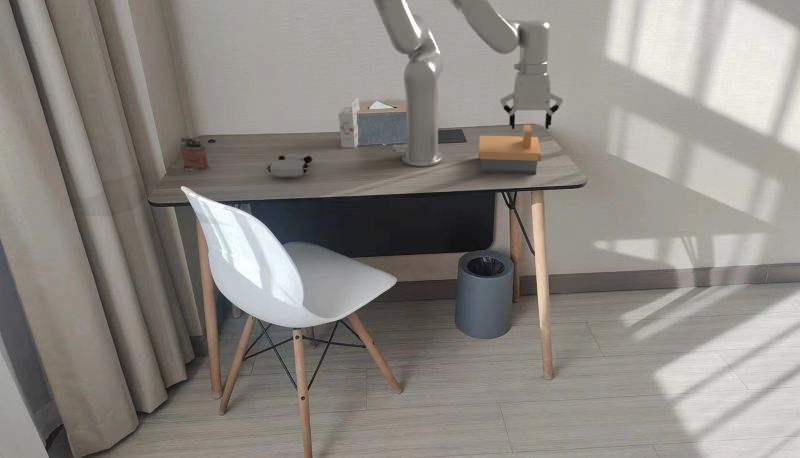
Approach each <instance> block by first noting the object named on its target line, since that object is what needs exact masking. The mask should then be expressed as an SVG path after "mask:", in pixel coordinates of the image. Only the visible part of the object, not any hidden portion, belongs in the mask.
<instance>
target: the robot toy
mask: <svg viewBox="0 0 800 458" xmlns="http://www.w3.org/2000/svg"><path fill="white" fill-rule="evenodd" d="M277 159H278V160H274V161H273V162H272V163H270V164H269V166H267V167H264V168H263V170H268V172H269V173H270V174H271V175H272V176H274V177H277V178H280V177H281V178H291V177H292V178H296V177H297V178H300V177H301V176H303V175H304V174H305V173H307V171H308V170H310V167H309V165H308V164H309V163H312V161H313V160H315V156H311V155H306V156H305V157H303V156H302V154H300V153H288V154H286V156H284V155H279V156H278V157H277ZM297 178H296V179H297Z"/></svg>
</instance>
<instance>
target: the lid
mask: <svg viewBox="0 0 800 458" xmlns="http://www.w3.org/2000/svg"><path fill="white" fill-rule="evenodd" d="M522 127H523V128H522V129H523V131H522V136H517V135H516V136H512V135H510V136H509V135H508V136H507V135H479V143H478V144H479V145H478V160H481V159H495V160H529V161H537V162H538V161H539V162H540V161H541V154H542V152H541V147H540V142H539V137H538V136H532V135H533V134H532V133H533V132H532V125H531V124H523V126H522Z"/></svg>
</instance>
